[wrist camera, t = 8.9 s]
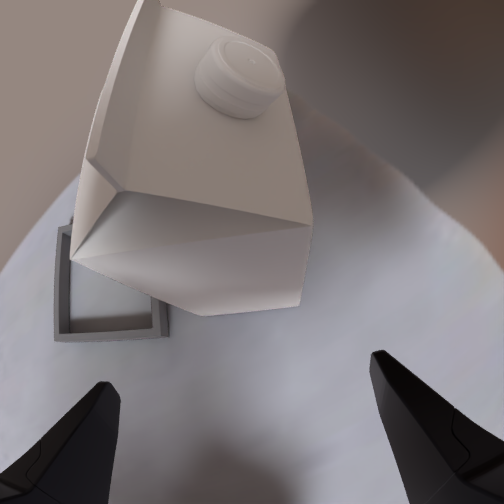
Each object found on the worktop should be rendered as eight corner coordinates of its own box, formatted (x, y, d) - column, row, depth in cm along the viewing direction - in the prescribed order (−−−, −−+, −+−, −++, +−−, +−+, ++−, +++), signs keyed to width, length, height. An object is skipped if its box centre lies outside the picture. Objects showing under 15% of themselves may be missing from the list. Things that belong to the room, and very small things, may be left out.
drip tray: (168, 337, 22) (161, 336, 21) (65, 342, 23) (54, 341, 22) (162, 211, 25) (155, 203, 24) (67, 233, 26) (58, 227, 25)
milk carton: (201, 317, 22) (-32, 206, 4) (196, 226, 25) (54, 21, 7) (299, 306, 22) (334, 113, 4) (287, 213, 24) (267, -42, 6)
